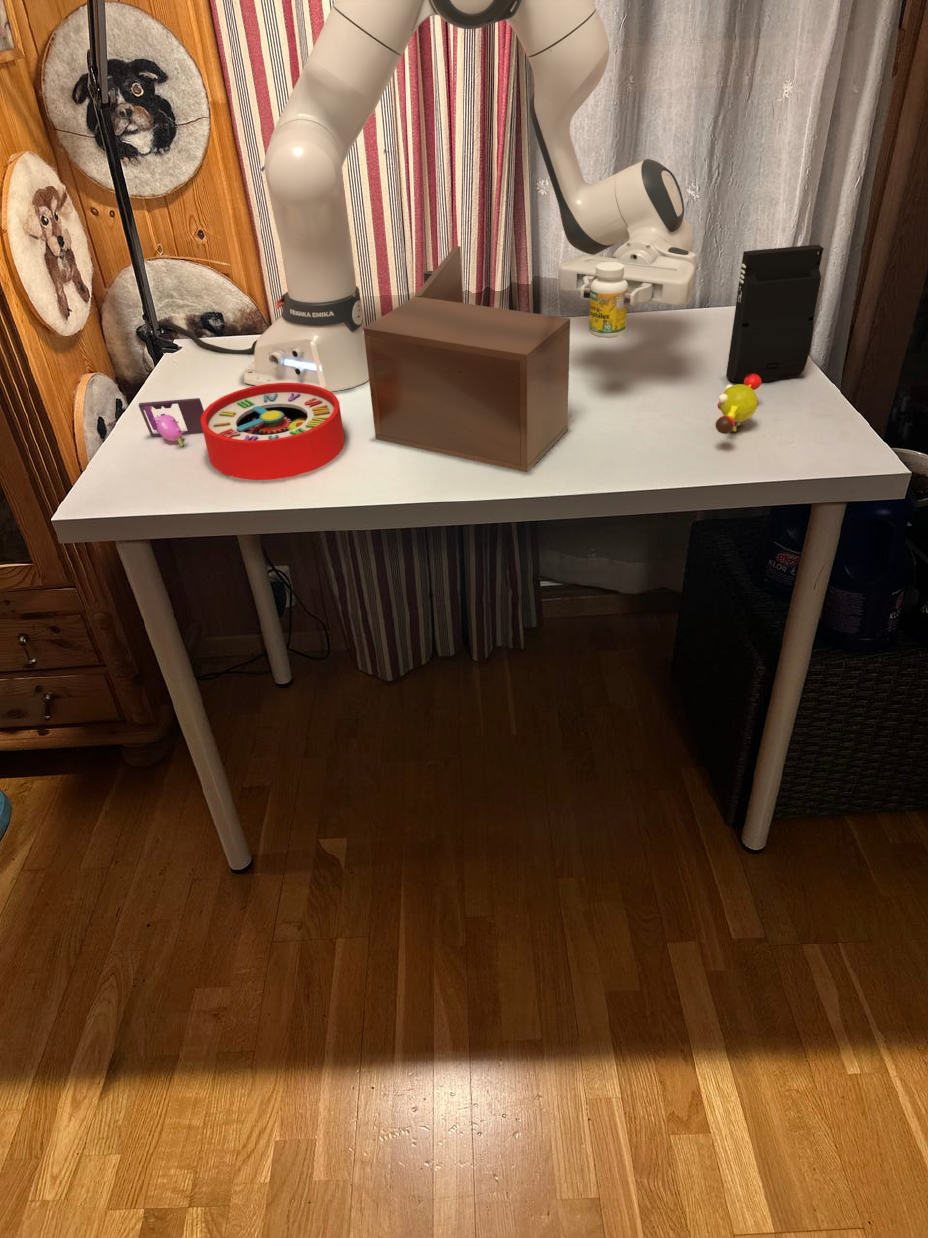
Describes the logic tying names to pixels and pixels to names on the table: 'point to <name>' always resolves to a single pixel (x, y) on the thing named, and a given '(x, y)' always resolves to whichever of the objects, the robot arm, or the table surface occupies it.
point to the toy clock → (273, 431)
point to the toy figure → (737, 403)
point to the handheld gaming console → (774, 313)
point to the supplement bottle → (608, 301)
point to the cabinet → (469, 380)
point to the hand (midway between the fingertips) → (606, 296)
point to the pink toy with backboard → (168, 424)
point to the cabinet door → (444, 279)
